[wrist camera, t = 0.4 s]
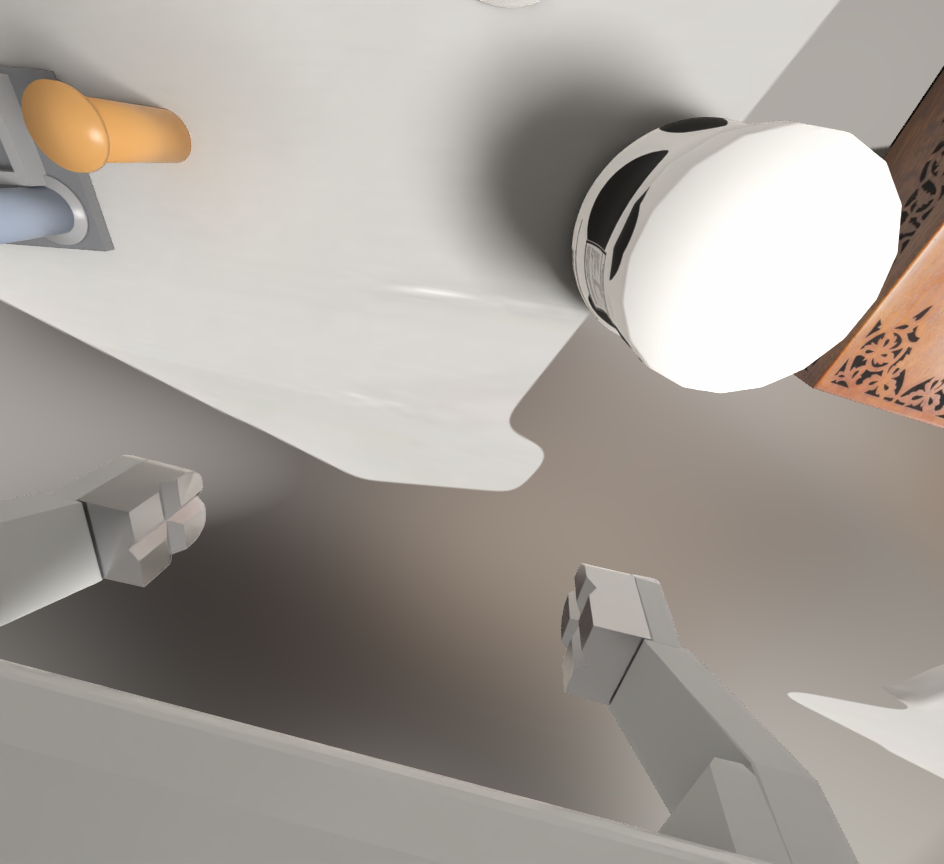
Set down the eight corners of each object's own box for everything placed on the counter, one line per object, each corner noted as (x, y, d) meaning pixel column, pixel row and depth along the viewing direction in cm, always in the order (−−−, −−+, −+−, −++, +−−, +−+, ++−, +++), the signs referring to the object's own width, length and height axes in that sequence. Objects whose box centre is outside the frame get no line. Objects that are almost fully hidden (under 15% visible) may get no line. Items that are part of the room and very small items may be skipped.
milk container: (800, 211, 40) (991, 242, 24) (653, 356, 47) (728, 449, 32) (666, 70, 35) (797, -2, 20) (528, 257, 43) (545, 310, 27)
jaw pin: (128, 97, 38) (6, 76, 28) (188, 101, 38) (86, 81, 28) (148, 168, 40) (43, 170, 31) (204, 172, 40) (115, 175, 31)
